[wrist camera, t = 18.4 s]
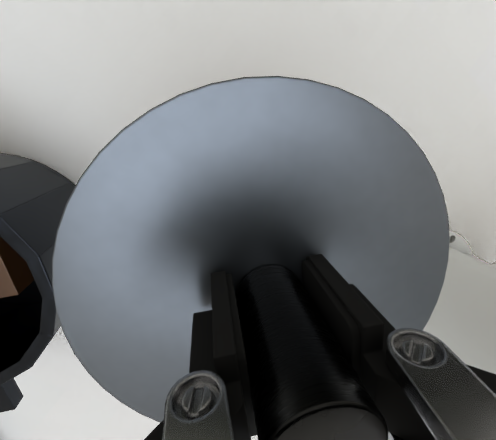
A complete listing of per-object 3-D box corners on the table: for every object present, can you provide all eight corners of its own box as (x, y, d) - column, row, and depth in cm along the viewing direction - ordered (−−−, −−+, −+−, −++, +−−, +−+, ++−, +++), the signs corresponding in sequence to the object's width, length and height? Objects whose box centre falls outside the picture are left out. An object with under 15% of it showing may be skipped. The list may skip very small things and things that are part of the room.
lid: (449, 58, 10) (860, -55, 4) (415, 376, 15) (564, 555, 9) (-4, 109, 8) (-580, 63, 2) (126, 442, 13) (58, 712, 7)
